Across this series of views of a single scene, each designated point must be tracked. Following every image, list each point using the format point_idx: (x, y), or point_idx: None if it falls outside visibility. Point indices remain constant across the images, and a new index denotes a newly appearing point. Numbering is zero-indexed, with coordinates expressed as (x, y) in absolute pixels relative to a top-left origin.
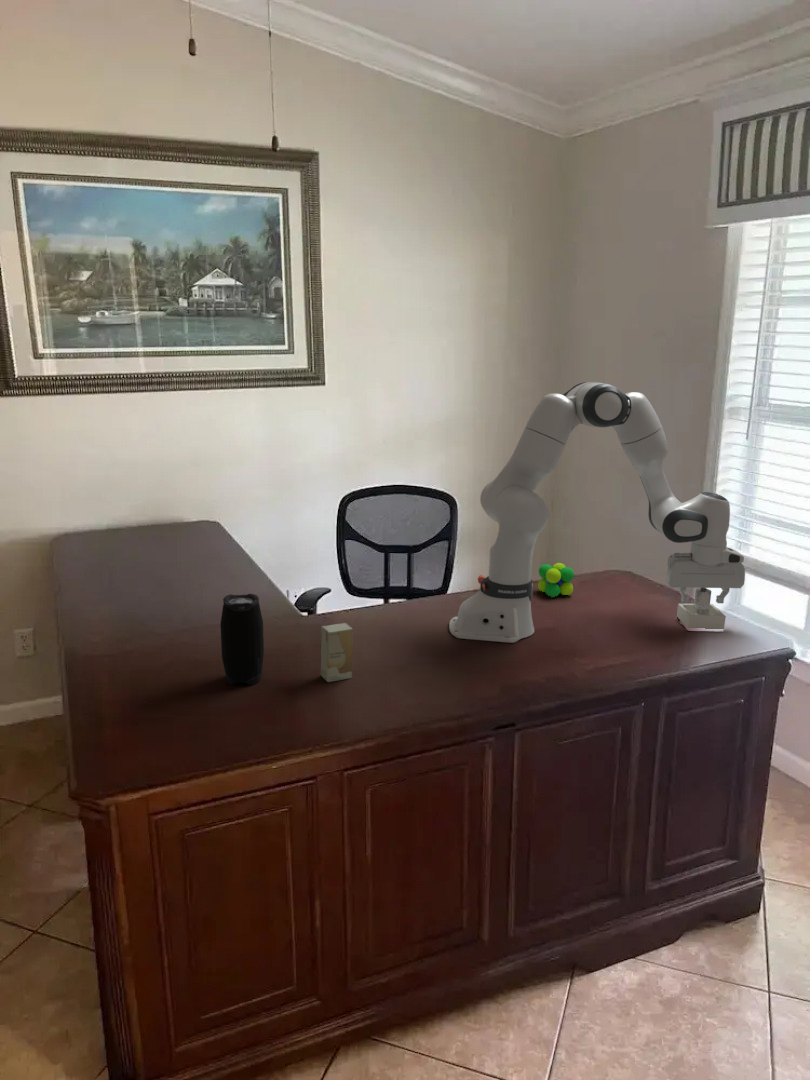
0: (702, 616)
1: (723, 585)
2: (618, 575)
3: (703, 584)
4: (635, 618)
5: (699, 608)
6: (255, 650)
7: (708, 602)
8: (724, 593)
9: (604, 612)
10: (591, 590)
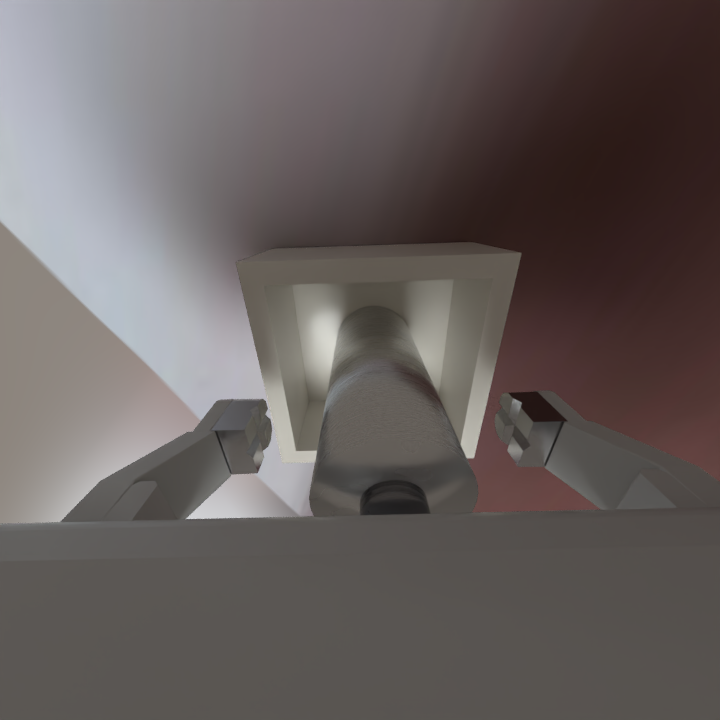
0: (417, 256)
1: (97, 565)
2: None
3: (489, 573)
4: (623, 399)
5: (412, 354)
6: None
7: (349, 381)
8: (169, 467)
9: (702, 447)
10: None
